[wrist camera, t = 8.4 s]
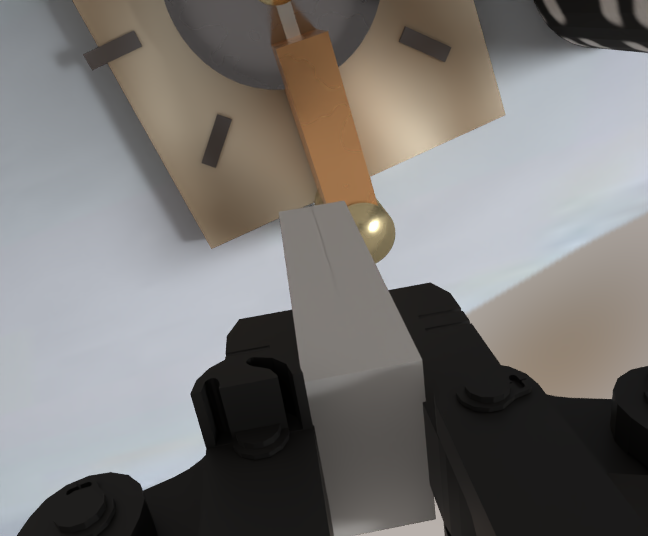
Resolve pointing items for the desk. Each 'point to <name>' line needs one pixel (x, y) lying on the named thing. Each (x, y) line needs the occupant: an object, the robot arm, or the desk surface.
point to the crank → (298, 83)
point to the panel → (274, 110)
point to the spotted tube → (599, 22)
